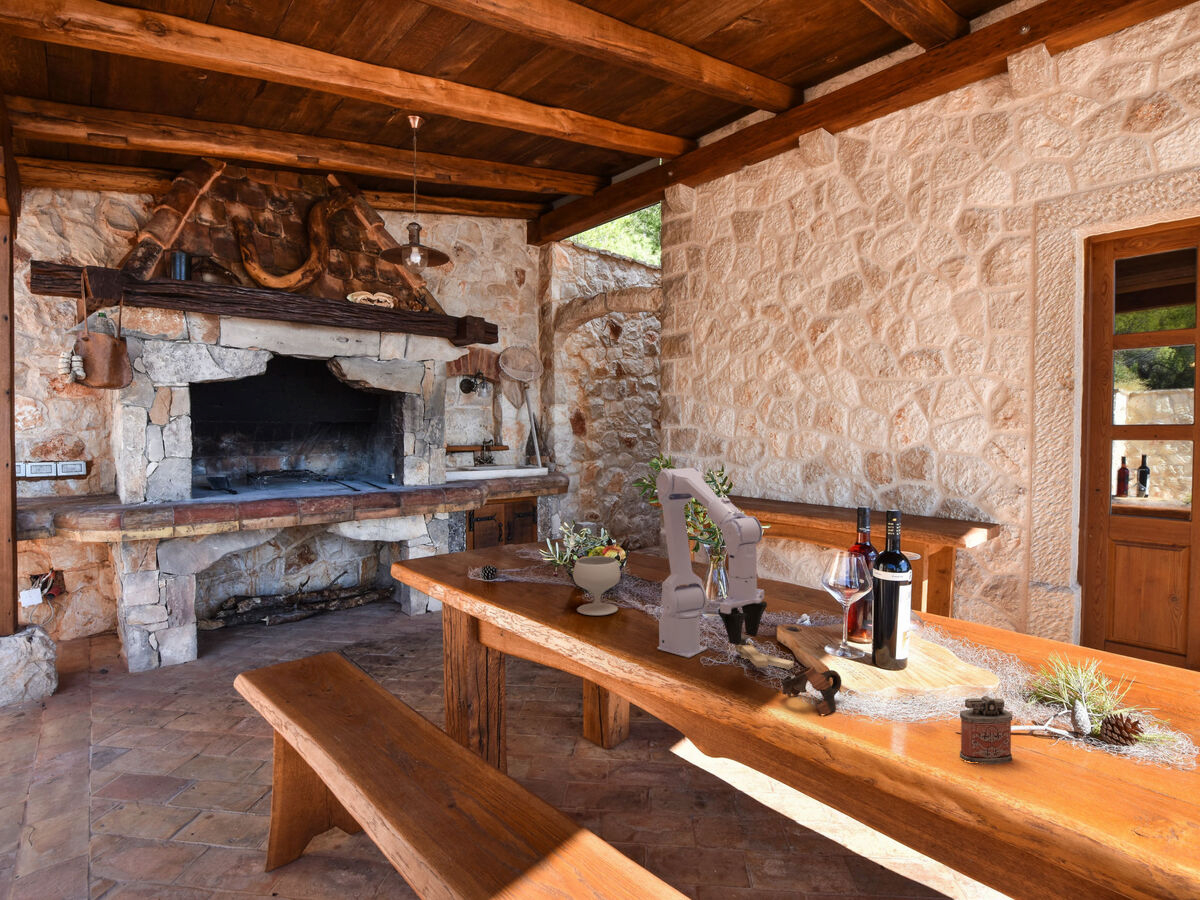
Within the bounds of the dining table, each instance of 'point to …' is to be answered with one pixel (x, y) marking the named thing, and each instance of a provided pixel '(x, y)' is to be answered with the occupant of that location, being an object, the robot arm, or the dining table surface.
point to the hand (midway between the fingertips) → (743, 639)
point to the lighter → (986, 731)
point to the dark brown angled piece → (814, 686)
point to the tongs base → (768, 657)
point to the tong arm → (752, 654)
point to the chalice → (596, 581)
